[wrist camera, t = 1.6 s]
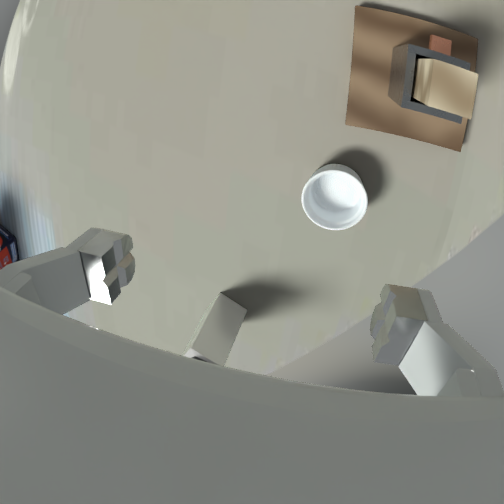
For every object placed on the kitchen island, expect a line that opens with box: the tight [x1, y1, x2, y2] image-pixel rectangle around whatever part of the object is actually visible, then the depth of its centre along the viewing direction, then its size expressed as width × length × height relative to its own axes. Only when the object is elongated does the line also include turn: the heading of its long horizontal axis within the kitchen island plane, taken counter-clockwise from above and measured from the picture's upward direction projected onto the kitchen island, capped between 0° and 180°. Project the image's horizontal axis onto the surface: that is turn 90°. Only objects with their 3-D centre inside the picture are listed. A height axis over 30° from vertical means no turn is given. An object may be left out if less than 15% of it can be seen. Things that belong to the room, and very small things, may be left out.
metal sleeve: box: [388, 35, 471, 124], centre depth 25 cm, size 8×6×10 cm
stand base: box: [345, 6, 478, 152], centre depth 30 cm, size 16×16×2 cm
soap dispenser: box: [182, 292, 247, 366], centre depth 56 cm, size 6×9×22 cm
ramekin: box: [302, 164, 368, 230], centre depth 42 cm, size 9×9×4 cm
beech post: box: [411, 59, 478, 119], centre depth 24 cm, size 4×4×15 cm
